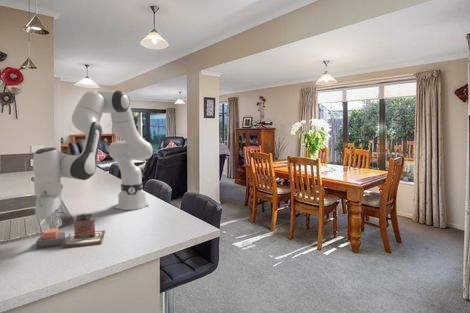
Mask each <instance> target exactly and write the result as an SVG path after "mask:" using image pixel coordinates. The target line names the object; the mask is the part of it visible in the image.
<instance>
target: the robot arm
mask: <svg viewBox="0 0 470 313" xmlns="http://www.w3.org/2000/svg"><path fill="white" fill-rule="evenodd" d="M130 102H131V100H130V98H129V96H128V94H127V93H126V92H125V91H122V90H111V89H109V90H108V89H107V90H105V89H104V90H92V91H91V90H90V91H86V92H85V93H84V94H83V95H81V98H80V99H79V101H78V102H77V104H76V106H75V107H74V109H73V110H74V111H73V113H72V116H71V123H72V125H73V126H74V127H75V128H76V129H77V130H78V131H80V132H81V133H82V134H85V138H84V143H83V146H82V152H81V153H80V154H78V155H77V154H67V153H64V152H61V151H59V149H58V148H57V147H43V148H39V149H38V150H36V151H34V153H33V157H32V158H33V159H32V170H33V171H32V172H33V174H34V181H33V184H34V185H33V186H34V189H33V190H34V196H38V197H37V199H36V200H35V217H36V220H45V222H46V225H52V224H53V223H54V221H55V220H54V218H55V217H54V216H55V211H56V210H58V208H59V207H60V206H61V203H62V190H63V184H62V179H61V178H66V179H75V180H80V181H85V180H89V179H91V177H93V175H94V174H95V172H96V170H97V159H98V152H99V149H100V143H101V139H102V138H101V137H102V131H103V130H102V126H101V125H100V122H101V118H102V116H103V113H105V114H106V113H107V114H109V113H110V118H111V122H112V125H113V126H112V127H113V129H114V133H115V134H116V136H117V137H119V138H121V139H123V140H118V141H117V140H116V141H113V142H111V143H110V144H109V145H108V154H109V157H110V158H112V159H113V160H114V161H115V162H116V163H117V165H118V167H119V170H120V176H121V184H120V190H121V191H120V192H119V193H118V196H117V197H118V203H117V204H116V205H115V206H114V207H115V209H118V210H123V211H124V210H125V211H133V210H134V211H135V210H140V209H143V208H146V207H149V206H150V203H149V202H148V201H147V199H146V192H145V190H143V187H144V186H143V181H142V179H143V178H142V176H143V175H142V169H141V168H140V167H139V166H137V165H135V163H134V161H144V160H148V159H150V158H151V157H152V155H153V153H154V149H153V145H152V144H151V143H150V142H149V141H147V140H146V139H144V137H142V135H141V134H140V133H139V131H138V130H137V127H136V124H135V119H134V115H133V112H132V109H131V106H130Z"/></svg>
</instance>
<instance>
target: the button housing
mask: <svg viewBox="0 0 470 313" xmlns="http://www.w3.org/2000/svg"><path fill="white" fill-rule="evenodd" d="M65 240H66V232H65V231H62V232H61V231H59V236H58V237H57V238H53V239H43V233H41V235H40V236H39V237H38V239H37V240H36V241H35V248H36V250H38V249H39V250H41V249H48V248H58V247H62V244H63V243H64V241H65Z"/></svg>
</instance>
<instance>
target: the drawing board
mask: <svg viewBox="0 0 470 313" xmlns="http://www.w3.org/2000/svg"><path fill="white" fill-rule="evenodd" d="M105 233H106V230H98V231H96V230H95V234H96V236H95V237H93V238H85V239H74V236H75V234H74V233H69V234H68V235H67V236H66V237H65V240H64V241H63V243H62V244H61V249H70V248H77V247H78V248H79V247H87V246H95V245H102V244H103V241H104V236H105V235H106V234H105Z"/></svg>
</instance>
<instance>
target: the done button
mask: <svg viewBox="0 0 470 313" xmlns="http://www.w3.org/2000/svg"><path fill="white" fill-rule="evenodd" d="M59 232H60V231H59V227H58V228H47V229H45V230H44V231H42V234H43V239H53V238H57V237H58V236H59Z"/></svg>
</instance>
